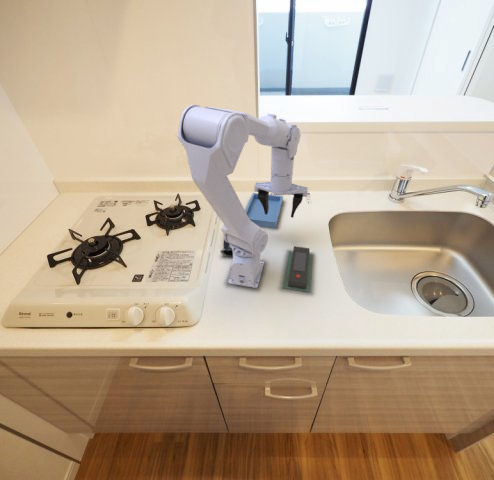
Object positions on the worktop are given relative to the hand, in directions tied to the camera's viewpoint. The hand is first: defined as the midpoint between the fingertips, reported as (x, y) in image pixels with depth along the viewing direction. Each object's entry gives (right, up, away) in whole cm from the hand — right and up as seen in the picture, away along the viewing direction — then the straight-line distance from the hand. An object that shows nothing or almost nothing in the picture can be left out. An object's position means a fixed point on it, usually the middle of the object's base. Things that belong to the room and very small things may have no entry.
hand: (279, 214), depth 77 cm
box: (-4, +2, +17) cm, 18 cm away
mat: (+5, -16, -4) cm, 18 cm away
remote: (+5, -16, -5) cm, 17 cm away
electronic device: (-12, -8, +6) cm, 16 cm away
